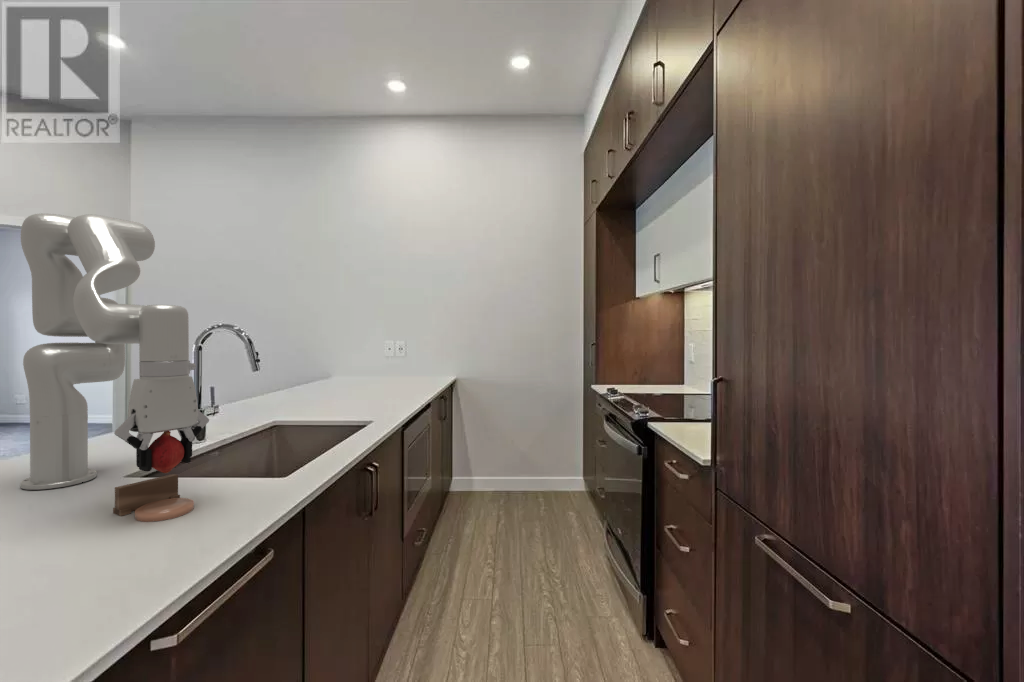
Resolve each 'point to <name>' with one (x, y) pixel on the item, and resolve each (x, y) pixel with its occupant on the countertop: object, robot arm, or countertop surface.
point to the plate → (164, 509)
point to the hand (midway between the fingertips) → (165, 465)
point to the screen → (144, 493)
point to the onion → (166, 452)
